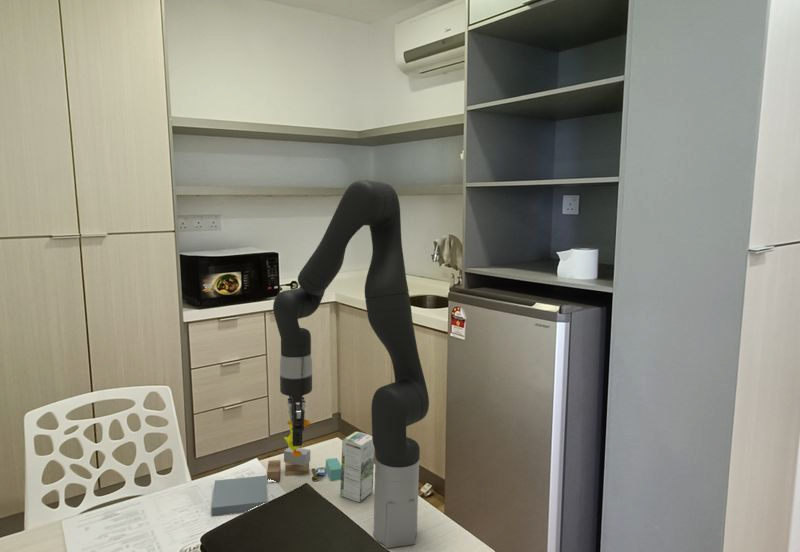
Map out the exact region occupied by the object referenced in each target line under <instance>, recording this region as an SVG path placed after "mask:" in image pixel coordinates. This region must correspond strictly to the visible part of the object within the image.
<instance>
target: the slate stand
mask: <svg viewBox="0 0 800 552" xmlns="http://www.w3.org/2000/svg"><path fill="white" fill-rule="evenodd" d="M267 484H268V483H267V474H266V475H256V476H246V477H237V478H228V479H219V480H217V479H216V480H214V486H213V493H212V501H211V517H216V516H217V517H218V516H225V515H234V514H233V513H235V514H242V512H243V513H246V512H245V511H248V510H250V509H252V508H254V507H256V506H259V505H261V504H263V503H266V502H267V503H268V488H267V487H268V486H267ZM231 513H232V514H231Z"/></svg>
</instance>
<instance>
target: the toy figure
mask: <svg viewBox="0 0 800 552" xmlns="http://www.w3.org/2000/svg"><path fill="white" fill-rule="evenodd" d="M288 411H289V410H288ZM292 417H293V414H292ZM288 419H289V420H288V421H287V422H286V424H287V425H289V430H290V434H289V436H283V439H284V440H285V441H286V443H287V446H288V447H289V448H290V449H291V450H293V454H292V456H295V457H299V456H300V455H301V454H302V452H301V451H296V449H298V448H300V446H293V432H292V422H291V421H290V411H289V412H288ZM310 425H311V421H310V420H309V419H305V420H304V428H307V427H308V426H310ZM295 426H300V424H296V425H295Z"/></svg>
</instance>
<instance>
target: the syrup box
mask: <svg viewBox="0 0 800 552" xmlns="http://www.w3.org/2000/svg"><path fill="white" fill-rule="evenodd" d="M341 444H342V445H341V462H340V465H341V479H340V493H339V495H340V496H341V497H342V498H344V499H345V498H346V499H348V500H352V501H354V502H357V503H361V502H362V501H364V500H365V499H366V498H367V497H368V496H370V495H371V494H372V493H374V492H373V489H374V471H375V467H374V466H375V448H374V445H373V440H372V435H371V434H367V433H366V432H365V433H364V432H362V431H354V432H353V433H351V434H350V435H348V436H346V437H345V438H343V439H342V441H341Z"/></svg>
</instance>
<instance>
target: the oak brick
mask: <svg viewBox="0 0 800 552" xmlns="http://www.w3.org/2000/svg"><path fill="white" fill-rule="evenodd" d="M284 463H285V464H284V467H285V468H284V473H285V476H286V477H287V476H297V475H299V476H300V475H309V474H310V462H309V463H307V464H306V465H305V466H302V465H297V464H292V463H287V462H284Z"/></svg>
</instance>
